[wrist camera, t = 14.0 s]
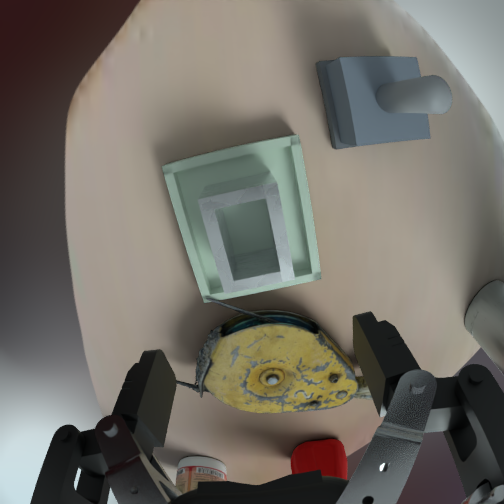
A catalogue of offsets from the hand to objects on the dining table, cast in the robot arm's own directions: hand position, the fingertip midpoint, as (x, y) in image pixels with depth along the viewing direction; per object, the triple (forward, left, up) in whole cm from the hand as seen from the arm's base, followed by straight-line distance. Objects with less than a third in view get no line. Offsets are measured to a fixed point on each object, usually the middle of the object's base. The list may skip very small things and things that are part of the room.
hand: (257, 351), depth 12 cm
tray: (0, 0, -18) cm, 18 cm away
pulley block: (-3, +20, -18) cm, 27 cm away
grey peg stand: (-13, -9, -18) cm, 24 cm away
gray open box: (0, 0, -17) cm, 17 cm away
